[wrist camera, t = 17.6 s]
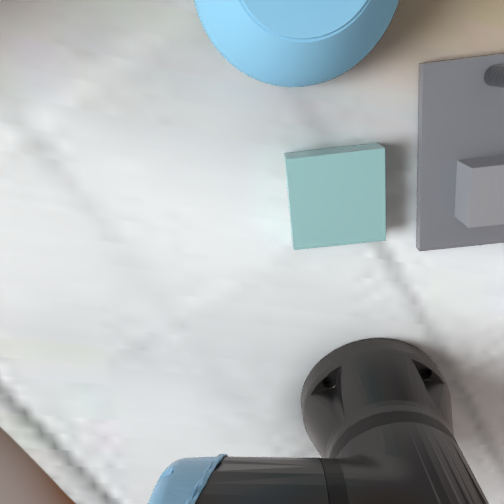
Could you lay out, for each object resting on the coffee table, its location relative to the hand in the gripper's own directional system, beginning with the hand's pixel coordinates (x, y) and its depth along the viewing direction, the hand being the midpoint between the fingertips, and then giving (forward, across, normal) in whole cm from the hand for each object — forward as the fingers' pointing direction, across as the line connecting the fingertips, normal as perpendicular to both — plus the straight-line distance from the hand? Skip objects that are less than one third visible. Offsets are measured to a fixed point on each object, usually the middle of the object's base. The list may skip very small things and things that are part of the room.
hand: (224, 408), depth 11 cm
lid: (+33, -7, +5) cm, 34 cm away
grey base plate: (+33, -20, +3) cm, 38 cm away
